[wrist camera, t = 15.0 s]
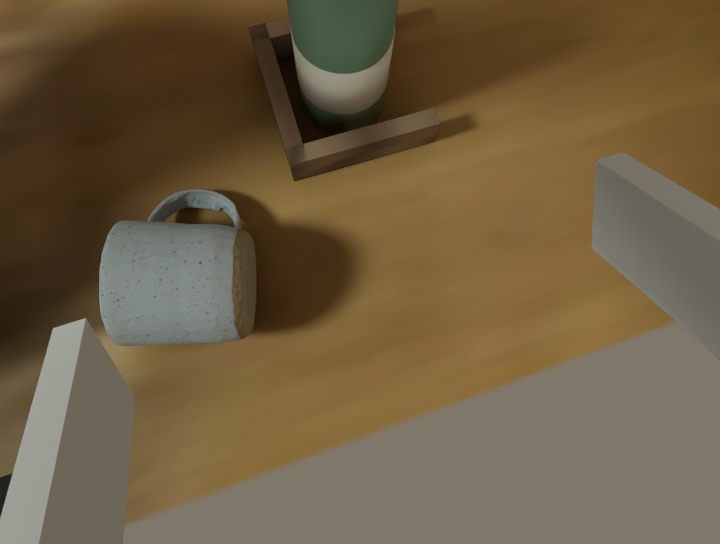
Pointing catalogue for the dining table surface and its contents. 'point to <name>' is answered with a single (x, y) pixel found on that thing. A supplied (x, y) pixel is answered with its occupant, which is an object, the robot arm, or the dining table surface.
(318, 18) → the bottle
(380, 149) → the u rest
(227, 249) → the ceramic mug
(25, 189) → the dining table surface
